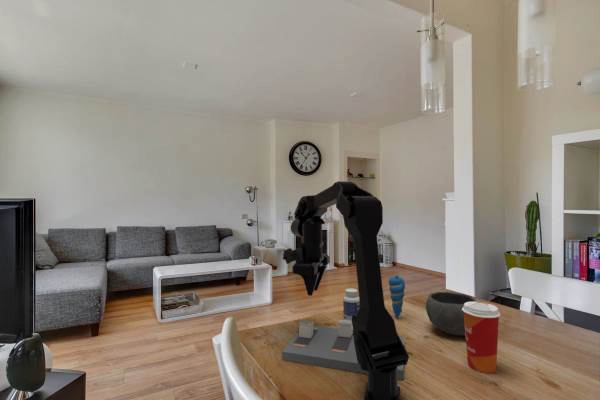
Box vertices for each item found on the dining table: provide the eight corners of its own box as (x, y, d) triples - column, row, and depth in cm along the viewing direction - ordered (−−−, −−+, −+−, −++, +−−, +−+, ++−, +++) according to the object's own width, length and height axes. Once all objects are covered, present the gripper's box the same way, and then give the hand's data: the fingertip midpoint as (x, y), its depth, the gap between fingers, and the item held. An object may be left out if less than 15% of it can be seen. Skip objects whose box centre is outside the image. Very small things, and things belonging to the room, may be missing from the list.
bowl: (490, 345, 82) (489, 307, 82) (429, 339, 86) (429, 303, 86) (474, 324, 96) (474, 292, 96) (423, 320, 100) (423, 289, 100)
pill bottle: (360, 323, 97) (359, 292, 97) (343, 322, 98) (342, 292, 98) (360, 317, 102) (360, 288, 102) (344, 316, 103) (343, 287, 104)
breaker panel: (403, 380, 66) (403, 370, 66) (282, 359, 75) (282, 351, 75) (403, 343, 83) (403, 335, 83) (304, 331, 92) (304, 323, 92)
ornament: (387, 319, 100) (386, 273, 101) (390, 314, 105) (390, 270, 105) (404, 322, 98) (403, 275, 98) (406, 317, 103) (406, 271, 103)
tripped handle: (310, 338, 81) (310, 324, 82) (299, 336, 83) (298, 323, 83) (313, 334, 84) (313, 321, 84) (301, 333, 85) (301, 320, 85)
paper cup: (466, 355, 76) (465, 298, 76) (503, 365, 71) (502, 305, 72) (459, 368, 70) (458, 307, 70) (499, 380, 65) (497, 314, 66)
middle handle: (350, 337, 82) (350, 324, 82) (338, 336, 83) (338, 322, 83) (352, 334, 84) (352, 320, 84) (340, 332, 85) (340, 319, 85)
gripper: (296, 235, 101) (297, 283, 101) (274, 242, 84) (274, 299, 83) (329, 236, 98) (330, 285, 97) (313, 243, 80) (314, 303, 80)
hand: (312, 292), depth 90 cm, fingers open, 5 cm apart
